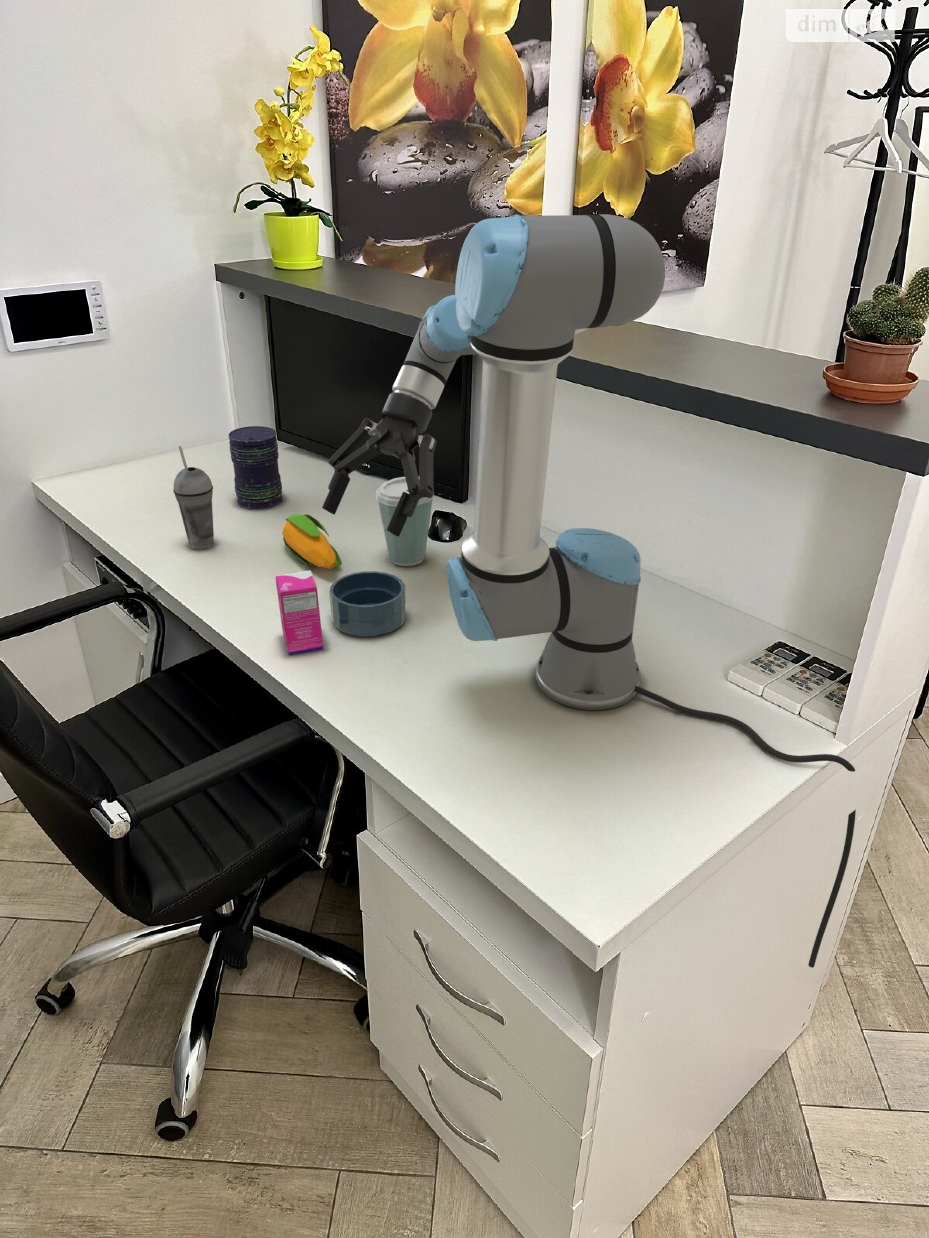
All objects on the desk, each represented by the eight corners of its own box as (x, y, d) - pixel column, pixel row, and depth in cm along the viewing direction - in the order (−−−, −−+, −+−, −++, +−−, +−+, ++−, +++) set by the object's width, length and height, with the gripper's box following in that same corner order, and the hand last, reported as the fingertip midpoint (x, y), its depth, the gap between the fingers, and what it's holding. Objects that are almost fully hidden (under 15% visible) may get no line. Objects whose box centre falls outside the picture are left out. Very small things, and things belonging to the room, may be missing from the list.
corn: (306, 500, 172) (351, 538, 157) (312, 535, 176) (356, 575, 161) (270, 510, 169) (313, 550, 154) (277, 546, 173) (319, 587, 158)
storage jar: (239, 492, 195) (231, 426, 188) (284, 491, 196) (278, 425, 189) (233, 510, 187) (224, 442, 179) (281, 509, 188) (274, 441, 180)
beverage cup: (223, 549, 171) (209, 449, 161) (184, 555, 168) (167, 454, 158) (218, 534, 177) (204, 437, 166) (180, 540, 174) (163, 441, 164)
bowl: (420, 623, 147) (419, 591, 144) (357, 647, 141) (355, 614, 138) (379, 595, 155) (378, 564, 152) (318, 616, 149) (315, 584, 146)
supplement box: (281, 637, 143) (274, 574, 137) (318, 632, 145) (312, 569, 139) (286, 656, 138) (279, 591, 132) (324, 650, 140) (319, 586, 134)
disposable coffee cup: (392, 576, 162) (389, 499, 154) (369, 553, 170) (365, 479, 162) (444, 564, 166) (444, 489, 158) (419, 542, 174) (417, 469, 167)
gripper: (486, 427, 140) (433, 550, 139) (366, 397, 152) (316, 510, 151) (465, 406, 133) (409, 535, 132) (341, 376, 146) (289, 494, 144)
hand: (359, 522), depth 141 cm, fingers open, 13 cm apart
